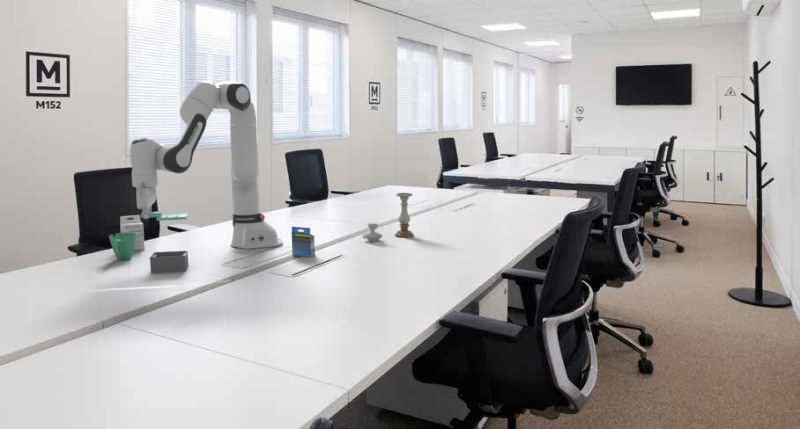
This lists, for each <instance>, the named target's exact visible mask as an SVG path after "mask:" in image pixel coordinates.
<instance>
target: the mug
mask: <svg viewBox="0 0 800 429" xmlns="http://www.w3.org/2000/svg"><path fill="white" fill-rule="evenodd" d="M108 238H109V241H110V244H111V247H112V250H113V253H114V255H115V257H116V259H117V260H118V261H121V262H122V261H128V260H129V259H130V260H131V259H132V257H133V253H134V251H133V250H134V246H135V240H136V234H135V233H121V232H117V233H115V234H112V233H111V234H109V235H108Z"/></svg>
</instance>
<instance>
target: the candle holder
mask: <svg viewBox="0 0 800 429" xmlns="http://www.w3.org/2000/svg"><path fill="white" fill-rule="evenodd" d="M395 196H396V197H399V199H400V201H401V203H400V206H401V212H400V215H399V216H398V222H399V223H400V224H399V228H400V230H397V231H396V233H395V234H394V235H395V237H398V238H412V237H414V232H412V230H409V227H410V224H409V223H410V221H411V217H410V214H409V212H408V205H409V203H408V200H409V199H410V197H412V196H413V193H411V192H399V193H396V194H395Z"/></svg>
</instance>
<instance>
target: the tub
mask: <svg viewBox="0 0 800 429" xmlns="http://www.w3.org/2000/svg"><path fill="white" fill-rule="evenodd" d="M149 263H150V266H149V267H150V274H167V273H170V274H171V273H185V272H187V270H188V268H189V252H188V250H172V251H153V253H152V254H151V255H150V256H149Z"/></svg>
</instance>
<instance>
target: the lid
mask: <svg viewBox="0 0 800 429" xmlns="http://www.w3.org/2000/svg"><path fill="white" fill-rule="evenodd" d="M188 217H189V213H179V212H178V213H174V214H173V213H171V214H170V213H167V214H163V212H162V211H151V212H149V218H156V222H157V221H158V222H160V221H178V220H179V221H180V220H182V221H183V220H187V218H188ZM140 219H144V214H143V211H142V212H141V213H140Z"/></svg>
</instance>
